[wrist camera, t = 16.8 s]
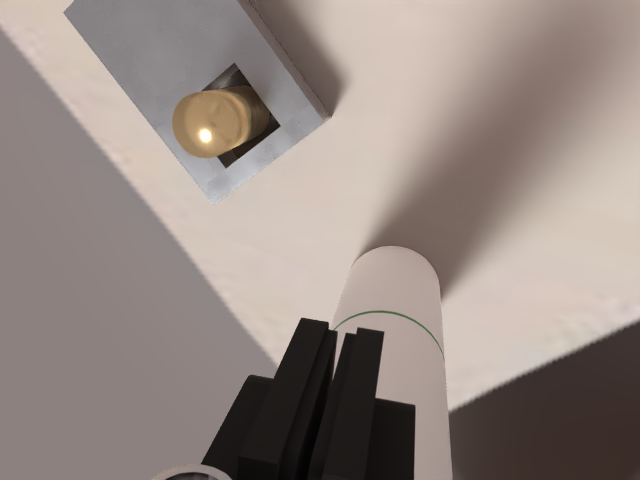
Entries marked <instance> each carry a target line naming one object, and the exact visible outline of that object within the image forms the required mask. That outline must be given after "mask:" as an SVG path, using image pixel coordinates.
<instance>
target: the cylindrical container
mask: <svg viewBox="0 0 640 480" xmlns="http://www.w3.org/2000/svg"><path fill="white" fill-rule="evenodd" d="M358 327H360V328H366V329H372V330H378V331H384V340H383V347H382V354H381V361H380V368H379V375H378V383H377V390H376V397H375V398H380V399H386V400H391V401H397V402H402V403H407V404H413V405H415V407H416V418H415V461H414V480H452V468H451V451H450V436H449V421H448V405H447V390H446V374H445V359H444V344H443V328H442V313H441V298H440V285H439V280H438V277H437V274H436V272H435V270H434V268H433V267H432V265H431V264H430V263H429V262H428V261H427V260H426V259H425V258H424V257H423V256H421V255H420V254H419V253H417V252H415V251H413V250H411V249H408V248H404V247H401V246H382V247H378V248H375V249H372V250H370V251H368V252H366V253H365V254H363V255H362V256H361V257H360V258H358V259H357V260H356V262H355V263H354V264H353V266H352V267H351V269H350V271H349V273H348V276H347V279H346V282H345V285H344V288H343V291H342V294H341V297H340V300H339V303H338V306H337V309H336V312H335V315H334V318H333V321H332V324H331V327H330V330H335V331H338V337H337V346H336V355H335V364H334V373H333V377H334V374H335V370H336V366H337V363H338V359H339V355H340V352H341V348H342V344H343V341H344V337H345V334H346V332H347V333H352V334H356V332H357V328H358Z"/></svg>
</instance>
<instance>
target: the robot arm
mask: <svg viewBox="0 0 640 480" xmlns="http://www.w3.org/2000/svg"><path fill="white" fill-rule="evenodd" d="M337 337H338V331H335V330H329V323H328V322H324V321H318V320H312V319H307V318H301V320H300V322H299V324H298V326H297V328H296V330H295V333H294V335H293V337H292V339H291V341H290V343H289V346H288V348H287V350H286V352H285V354H284V357H283V359H282V361H281V363H280V365H279V368H278V370H277V372H276V375H275V376H274V379H271V378H266V377H261V376H256V375H250V376H248V378H247V379H246V381H245V383H244V384H243V386H242V389H241V390H240V392H239V394H238V396H237V398H236V399H235V401H234V403H233V405H232V407H231V409H230V411H229V412H228V414H227V416H226V418H225V420H224V422H223V424H222V426H221V427H220V430H219V431H218V433H217V435H216V437H215V438H214V440H213V442H212V444H211V446H210V448H209V450H208V452H207V453H206V455H205V457H204V459H203V461H202V463H201V465H200V464H197V465H196V464H195V465H182V466H178V467H174V468H170V469H168V470H166V471H164V472H162V473H160V474H158V475H156V476H155V477H153V478H152V479H151V480H414V461H415V418H416V407H415V405H413V404H407V403H402V402H397V401H391V400H386V399H380V398H375V397H376V390H377V383H378V375H379V368H380V361H381V354H382V347H383V340H384V331H378V330H372V329H366V328H360V327H358V328H357V332H356V334H352V333H347V332H346V334H345V337H344V341H343V344H342V348H341V352H340V355H339V359H338V363H337V366H336V370H335V374H334V377H333V373H334V364H335V355H336V346H337Z"/></svg>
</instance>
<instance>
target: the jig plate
mask: <svg viewBox="0 0 640 480" xmlns="http://www.w3.org/2000/svg"><path fill="white" fill-rule="evenodd" d="M63 13H64V14H65V16H66V17H67V18H68V20H69V21H70V22H71V23H72V25H73V26H74V27H75V29H76V30H77V31H78V32H79V34H80V35H81V36H82V37H83V39H84V40H85V41H86V43H87V44H88V45H89V46H90V48H91V49H92V50H93V52H94V53H95V54H96V55H97V57H98V58H99V59H100V61H101V62H102V63H103V64H104V66H105V67H106V68H107V70H108V71H109V72H110V73H111V75H112V76H113V77H114V79H115V80H116V81H117V82H118V84H119V85H120V86H121V87H122V89H123V90H124V91H125V93H126V94H127V95H128V96H129V98H130V99H131V100H132V102H133V103H134V104H135V105H136V107H137V108H138V109H139V111H140V112H141V113H142V114H143V116H144V117H145V118H146V120H147V121H148V122H149V123H150V125H151V126H152V127H153V129H154V130H155V131H156V132H157V134H158V135H159V136H160V138H161V139H162V140H163V141H164V143H165V144H166V145H167V146H168V148H169V149H170V150H171V152H172V153H173V154H174V155H175V157H176V158H177V159H178V161H179V162H180V163H181V164H182V166H183V167H184V168H185V170H186V171H187V172H188V173H189V175H190V176H191V177H192V179H193V180H194V181H195V182H196V184H197V185H198V186H199V188H200V189H201V190H202V191H203V193H204V194H205V195H206V197H207V198H208V199H209V200H210V202H211V203H212V204H213V205H215V204H216V203H218V202H219V201H220V200H222V199H223V198H224V197H226V196H227V195H228V194H230V193H231V192H232V191H234V190H235V189H236V188H238V187H239V186H240V185H242V184H243V183H244V182H246V181H247V180H248V179H250V178H251V177H252V176H254V175H255V174H256V173H258V172H259V171H260V170H262V169H263V168H264V167H266V166H267V165H268V164H270V163H271V162H272V161H274V160H275V159H276V158H278V157H279V156H280V155H282V154H283V153H284V152H286V151H287V150H288V149H290V148H291V147H292V146H294V145H295V144H296V143H298V142H299V141H300V140H302V139H303V138H304V137H306V136H307V135H308V134H310V133H311V132H312V131H314V130H315V129H316V128H318V127H319V126H320V125H322V124H323V123H324V122H326V121H327V120H328V119H330V118H331V116H330V114H329V113H328V111H327V110H326V109H325V107H324V106H323V104H322V103H321V101H320V100H319V99H318V97H317V96H316V94H315V93H314V92H313V90H312V89H311V87H310V86H309V85H308V83H307V82H306V80H305V79H304V78H303V76H302V75H301V73H300V72H299V71H298V69H297V68H296V66H295V65H294V63H293V62H292V61H291V59H290V58H289V56H288V55H287V54H286V52H285V51H284V49H283V48H282V47H281V45H280V44H279V42H278V41H277V40H276V38H275V37H274V35H273V34H272V32H271V31H270V30H269V28H268V27H267V25H266V24H265V23H264V21H263V20H262V18H261V17H260V16H259V14H258V13H257V11H256V10H255V9H254V7H253V6H252V4H251V3H250V2H249V0H75V1H74V2H73V3H72V4H71V5H70V6H69V7H68V8H67V9H66V10H65V11H64V12H63ZM239 69H240V71H241V72H242V73H243V75H244V76H245V78H246V79H247V80H248V82H249V83H250V84H251V86H252V87H253V89H254V90H255V91H256V93H257V94H258V95H259V97H260V98H261V99H262V101H263V102H264V104H265V105H266V106H267V108H268V109H269V110H270V112H271V113H272V114H273V116H274V117H275V119H276V120H277V121H278V123H279V124H280V125H281V127H279V128H278V129H277V130H276V131H274V132H273V133H272V134H270V135H269V136H268V137H266V138H265V139H264V140H263V141H261V142H260V143H259V144H257V145H256V146H255V147H253V148H252V149H251V150H250V151H248V152H247V153H246V154H244V155H243V156H242V157H241V158H239V159H238V157H237V156H236V155H235V153H234V152H233V151H232V149H231V150H229V151H227V152H225V153H223V154H221V155H219V156H216V157H213V158H199V157H196V156H193V155H191V154H190V153H188V152H187V151H185V150H184V149H183V148H182V147H181V145H180V144H179V143H178V141H177V140H176V137H175V135H174V132H173V127H172V117H173V113H174V110H175V108H176V106H177V104H178V103H179V102H180V101H181V100H182V99H183V98H184V97H186V96H187V95H189V94H192V93H196V92H202V91H209V90H215V89H216V88H218V87H219V86H220V85H221V84H222V83H223V82H225V81H226V80H227V79H228V78H229V77H231V76H232V75H233V74H234V73H235V72H236V71H238V70H239Z"/></svg>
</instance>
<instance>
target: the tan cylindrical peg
mask: <svg viewBox="0 0 640 480" xmlns="http://www.w3.org/2000/svg"><path fill="white" fill-rule="evenodd" d="M269 117H270V111H269V109H268V108H267V106H266V105H265V104H264V102H263V101H262V99H261V98H260V97H259V95H258V94H257V93H256V91H255V90H254V89H253V87H250V86H245V85H240V86H234V87H227V88H221V89H215V90H209V91H202V92H196V93H192V94H189V95H187V96H186V97H184V98H183V99H182V100H181V101H180V102H179V103H178V104H177V106H176V108H175V110H174V113H173V117H172V127H173V132H174V135H175V137H176V140H177V141H178V143H179V144H180V145H181V147H182V148H183V149H184V150H185V151H187V152H188V153H190V154H191V155H193V156H196V157H199V158H213V157H216V156H219V155H221V154H223V153H225V152H227V151H229V150H231V149H233V148H235V147H237V146H239V145H241V144H243V143H245V142H247V141H249V140H251V139H253V138H255V137H257V136H258V135H260V134H261V133H262V132H263V131H264V130H265V128H266V127H267V125H268V122H269Z"/></svg>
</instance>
